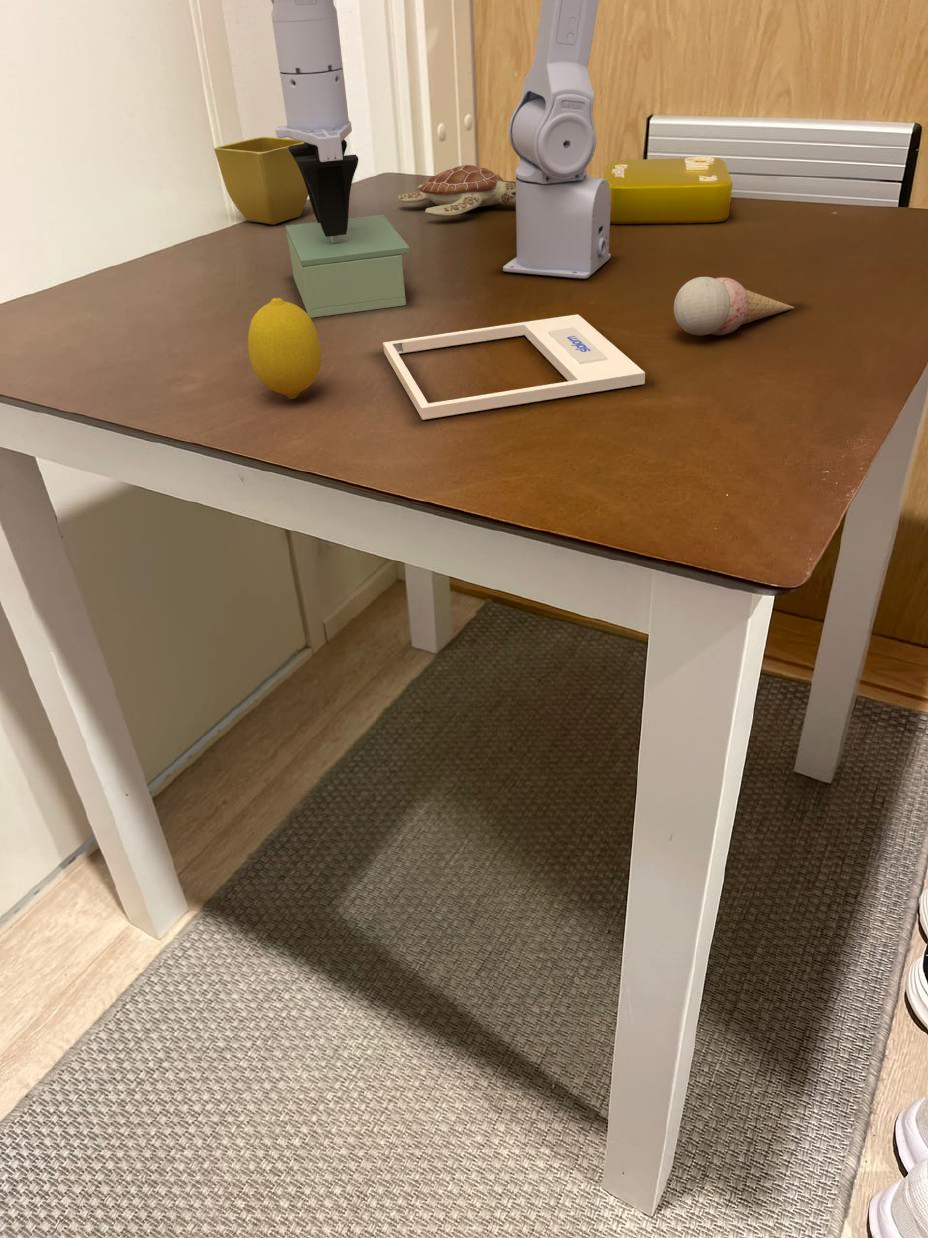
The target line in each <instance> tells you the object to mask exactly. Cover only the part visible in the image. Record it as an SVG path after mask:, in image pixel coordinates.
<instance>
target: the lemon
mask: <svg viewBox="0 0 928 1238" xmlns="http://www.w3.org/2000/svg"><path fill="white" fill-rule="evenodd" d="M248 328H249V329H248V335H247V336H248V337H247V338H248V339H247V347H248V348H247V349H248V357H249V360H250V364H251V367H252V369H253V371H254V374H255V375H256V377H257V378H258V380H259V381H260V382H261V383H262V384H263V385H264V386H265V387H267V388H268V389H270V390H271V391H273V392H275V393H278V394H283V395H284V396H285V397H287V398H288V399H291V400H293V399H297V398H298V397H299V396H300V394H301V393H302V391H305V390H307V389H308V388H309V387H311V385H312V384H313V383H314V382H315V381H316V380H317V377H318V376H319V372H320V370H321V367H322V366H321V365H322V346H321V341H320V338H319V335H318V332H317V331H318V330H317V328H316V327H315V324H314V322H313V319H312V318H310V317H309V316H308V314H307V311H306V310H303V308H301V307H300V306H298V305H296V304H295V303H292V302H288V301H284V300H283V299H282V298H281V297H274V298H272V299H271V300H270V301H269V303H266V304H265V305H263V306H262V307H261V308H259V309H258V310H257V311H256V312H255V314H254V315H253V317H252V319H251V321H250V324H249V327H248Z"/></svg>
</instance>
